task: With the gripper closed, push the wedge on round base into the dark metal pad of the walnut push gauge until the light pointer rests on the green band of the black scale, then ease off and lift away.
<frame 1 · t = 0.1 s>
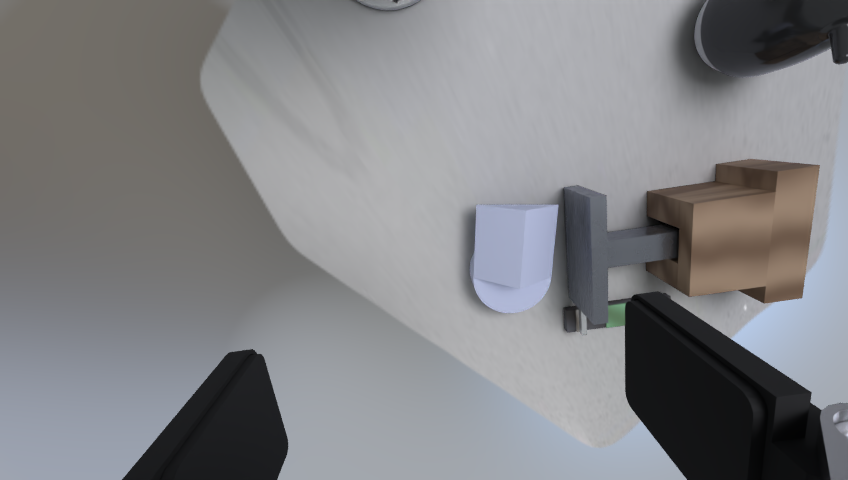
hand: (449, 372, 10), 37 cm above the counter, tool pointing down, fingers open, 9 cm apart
wedge on round base: (506, 251, 48), on the counter
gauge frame: (663, 229, 47), on the counter
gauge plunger: (624, 263, 44), point 4 cm above the counter, slide at 0.0 cm
pump dispenser: (722, 31, 42), on the counter
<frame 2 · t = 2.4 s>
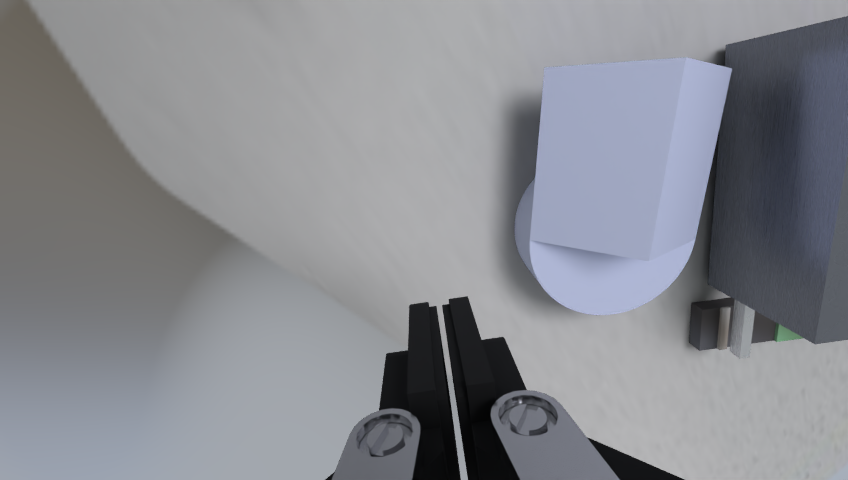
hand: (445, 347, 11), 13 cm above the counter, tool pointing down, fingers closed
wedge on round base: (589, 191, 24), on the counter
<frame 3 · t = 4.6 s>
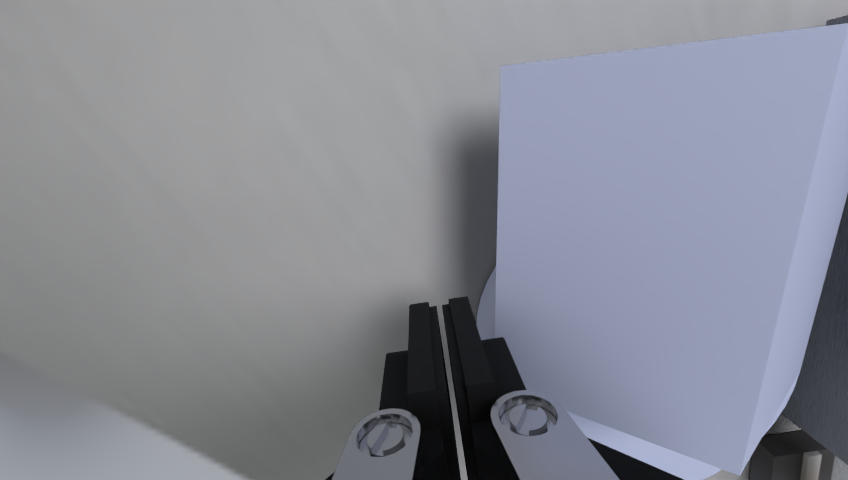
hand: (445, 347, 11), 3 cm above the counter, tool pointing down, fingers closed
wedge on round base: (598, 270, 14), on the counter, touching gripper
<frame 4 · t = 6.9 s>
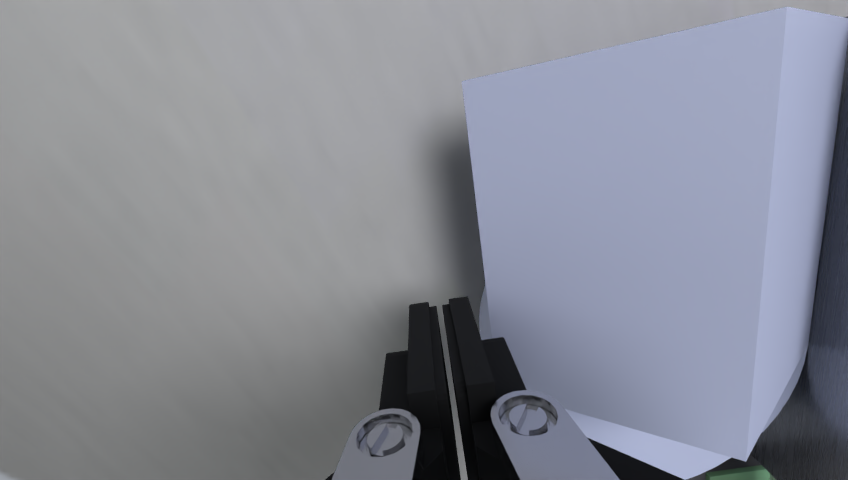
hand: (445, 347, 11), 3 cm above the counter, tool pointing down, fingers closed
wedge on round base: (595, 262, 14), on the counter, touching gripper
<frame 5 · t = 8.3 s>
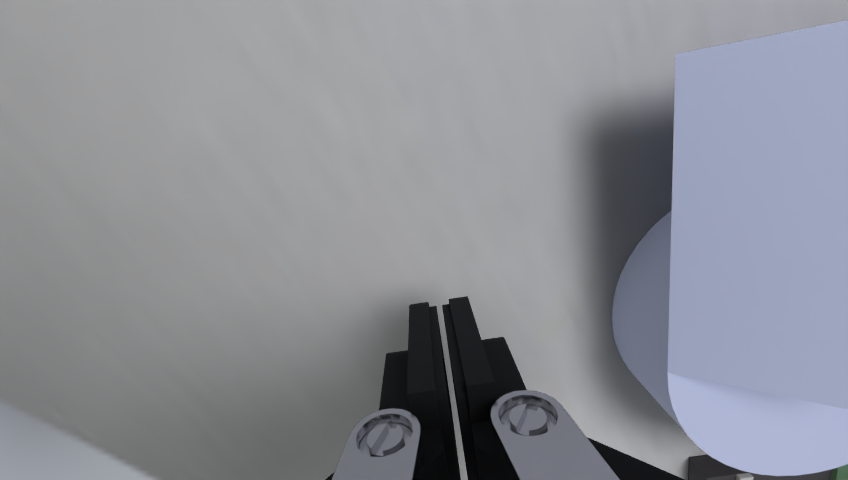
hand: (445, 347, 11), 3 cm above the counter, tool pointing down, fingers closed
wedge on round base: (732, 248, 14), on the counter
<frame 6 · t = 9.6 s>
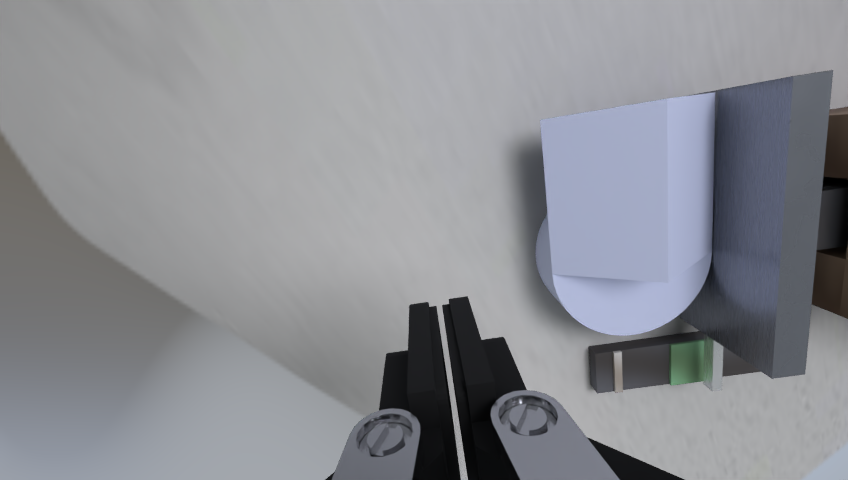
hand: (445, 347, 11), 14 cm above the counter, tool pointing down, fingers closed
wedge on round base: (601, 216, 25), on the counter
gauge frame: (780, 198, 25), on the counter
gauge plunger: (818, 247, 21), point 4 cm above the counter, slide at 5.3 cm
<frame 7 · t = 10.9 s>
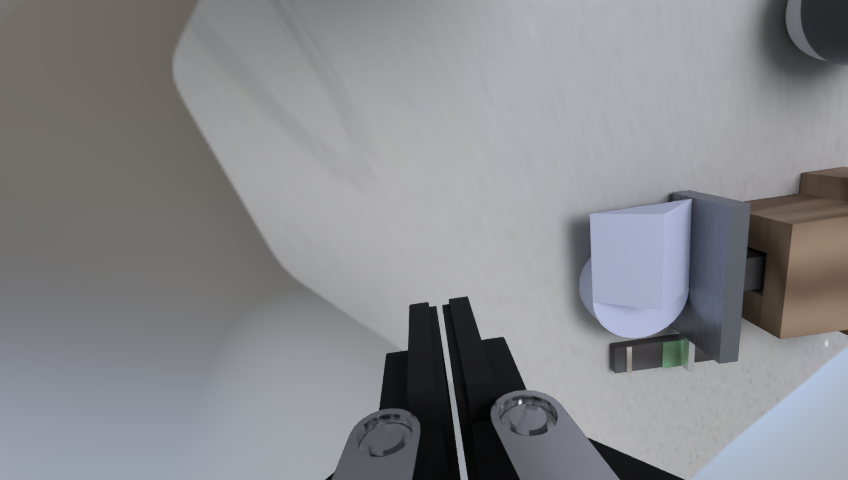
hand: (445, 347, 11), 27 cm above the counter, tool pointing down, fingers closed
wedge on round base: (621, 262, 40), on the counter
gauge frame: (733, 251, 39), on the counter
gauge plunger: (750, 286, 36), point 4 cm above the counter, slide at 5.3 cm
pump dispenser: (817, 10, 34), on the counter
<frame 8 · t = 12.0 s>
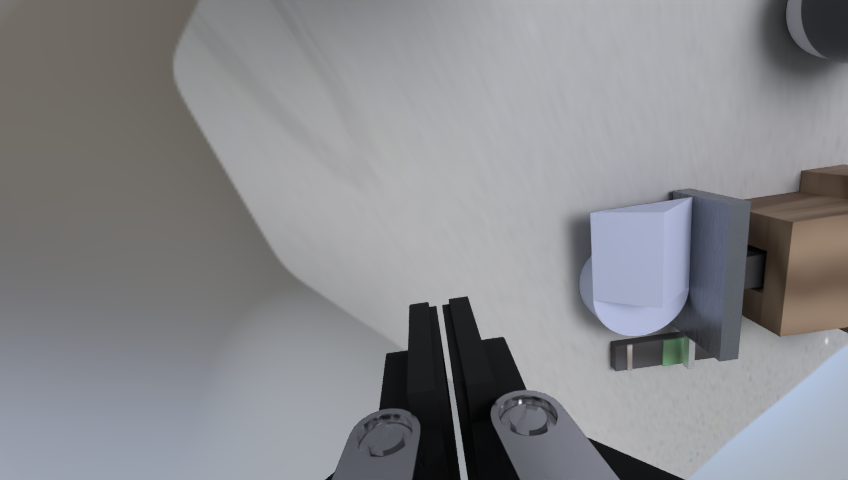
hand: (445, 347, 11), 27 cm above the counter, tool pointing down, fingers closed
wedge on round base: (621, 260, 40), on the counter
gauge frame: (733, 249, 39), on the counter
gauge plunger: (750, 284, 36), point 4 cm above the counter, slide at 5.3 cm
pump dispenser: (818, 8, 34), on the counter
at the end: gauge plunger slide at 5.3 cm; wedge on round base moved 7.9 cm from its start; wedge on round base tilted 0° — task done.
